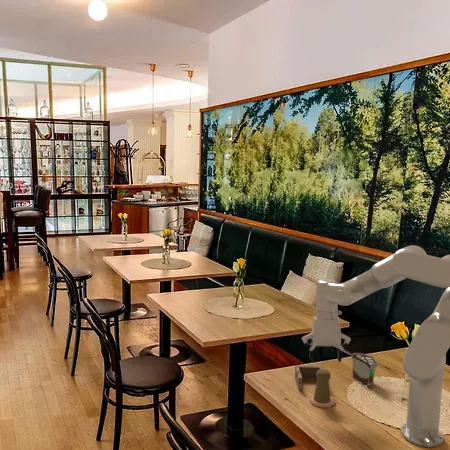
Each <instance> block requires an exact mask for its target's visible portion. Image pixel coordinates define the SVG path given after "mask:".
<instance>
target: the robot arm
mask: <svg viewBox="0 0 450 450" xmlns="http://www.w3.org/2000/svg"><path fill="white" fill-rule="evenodd" d="M405 279H410V280H412V281H416V282H420V283H423V284H427V285H429V286H434V287H437V288H443V289H444V288H445V290H444V291H443V293H442V295H441V297H440V299H439V301H438V303H437V305H436V306H435V308H434V310H433V312H432V314H430V316H428V317H427V318H426V319H425V320H424V321H423V322H422V323H421V324H420V325H419V327H418V329H416V330H417V331H416V332H415V334H414V336H413V337H412V340H411V342H410V344H409V346H408V348H407V350H406V351H405V354H404V355H403V358H402V359H403V360H402V365H403V370H404V371H405V374H407V375H408V377H409V383H408V385H409V386H408V387H409V388H408V395H407V396H408V397H407V412H406V423H404V424H403V425H401V427H400V434H401V436H402V437H403V438H404V439H406V440H407V441H408V442H410V443H412V444H415V445H417V446H421V447H426V448H427V447H428V448H434V447H438V446H440V445H442V444H443V442H444V435H443V434H442V432H441V431H440V430H439V429H440V416H441V404H442V394H443V383H444V376H445V375H444V374H445V370H446V364H447V363H446V362H447V355H446V354H447V352H448V350H449V349H450V254H448V255H445V256H443V257H437V256H432V255H428V254H427V252H426V251H425V250H424V248H423V247H421V246H419V245H409V246H408V245H407V246H406V247H403V248H400V249H398V250H396V251H395V252H394V253H393V254H391V255H389V256H388V257H385V258H384V259H382V260H380V261H378V262H376V263H375V264H373V265H372V267H371V268H370V269H368V270H367V271H365V272H363V273H362V274H360V275H357V276H356V277H354V278H353V277H352V279H349V280H346V281H345V282H341V283H338V281H337V280H334V279H330V278H321V279H319V280H317V283H316V290H315V291H316V292H315V293H316V295H315V299H316V301H315V316H313V320H312V324H311V332H310V333H308V334H306V335H304V336H302V337H301V341H302V342H303V344H304V345H305V347H306V348H307V349H308V350H309V351H308V356H309V357H308V359H310V360H311V362H313V363H314V362H315V348H316V347H337V353H336V356H337V358H336V359H337V361H338V362H339V363H342V359H343V355H344V351H345V349H347V347H348V346H349V343H350V342H351V340H352V339H351V337H349V336H348V335H345V334H344V333H342V330H341V329H342V328H341V321H340V317H339V316H342V314H343V313H342V311H341V310H338V309H339V308H338V305H339V306H345V307H346V306H350V305H352V304H354V303H356V302H358V301H359V300H362V299H363V298H365V297H368V296H369V295H372V294H373V293H375V292H377V291H380V290H382V289H387V288H389V287H391V286H394V285H395V284H397V283H399V282H401V281H403V280H405ZM310 339H311V343H309V342H308V340H310ZM342 339H343V340H344V342H343V343H342Z"/></svg>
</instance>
